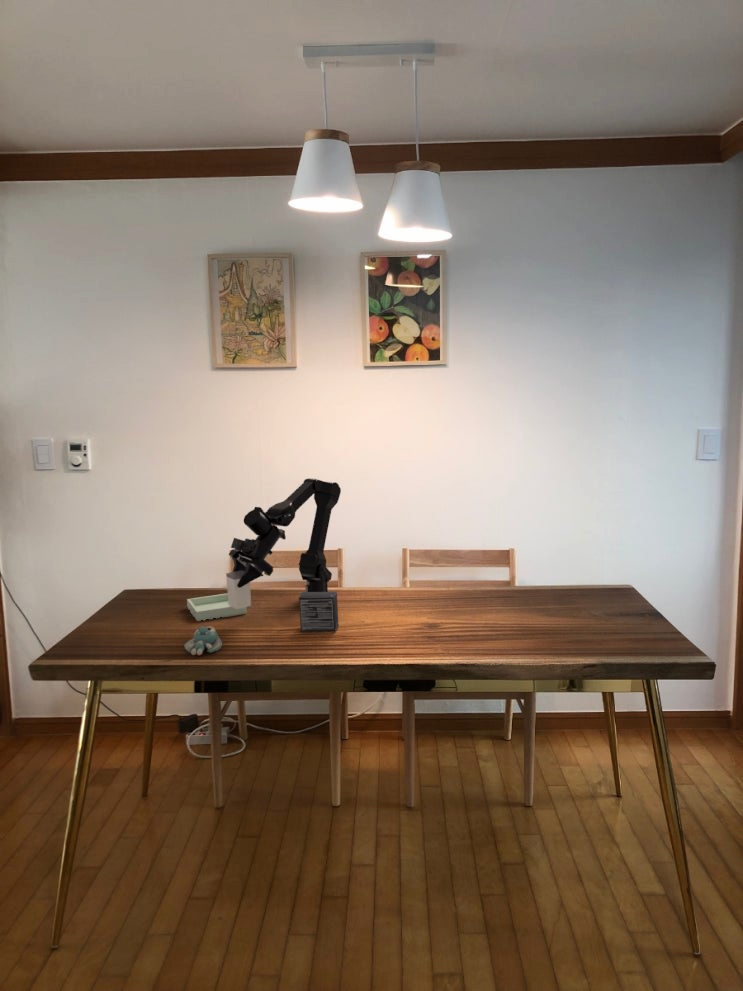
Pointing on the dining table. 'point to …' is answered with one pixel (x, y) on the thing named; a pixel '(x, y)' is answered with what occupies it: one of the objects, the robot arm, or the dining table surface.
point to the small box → (318, 611)
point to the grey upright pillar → (237, 591)
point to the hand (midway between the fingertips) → (234, 585)
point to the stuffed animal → (203, 641)
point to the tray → (212, 607)
